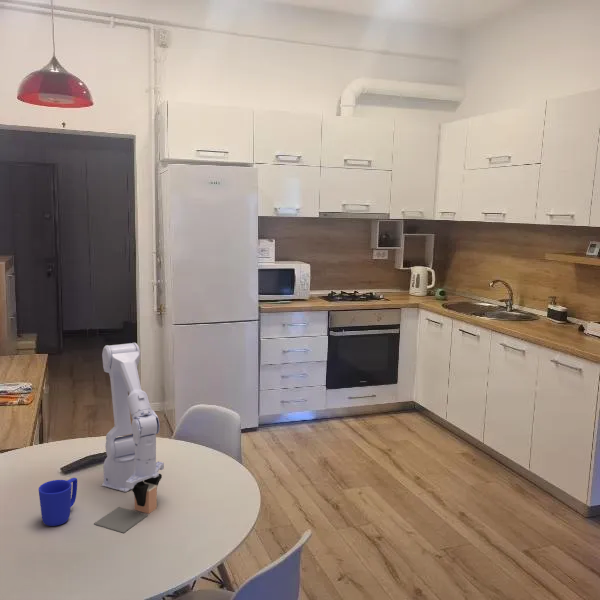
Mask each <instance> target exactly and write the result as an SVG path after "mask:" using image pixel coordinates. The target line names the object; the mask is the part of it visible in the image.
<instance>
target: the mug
mask: <svg viewBox="0 0 600 600" xmlns="http://www.w3.org/2000/svg"><path fill="white" fill-rule="evenodd" d="M77 490H78V478H77V477H71V478H70V479H68V480H67V479H55V480H48V481H46V482H44V483H42V484H41V485H40V486H39V487H38V496H39V505H40V513H41V520H42V523H43V524H44V525H45V526H48V527H56V526H61V525H63V524H65V523H66V522H68V520H69V519H70V516H71V515H70V514H71V507H73V506H74V504H75V502H76V499H77V492H78V491H77Z"/></svg>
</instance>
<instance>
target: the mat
mask: <svg viewBox="0 0 600 600" xmlns="http://www.w3.org/2000/svg"><path fill="white" fill-rule="evenodd" d="M148 515H149V514H147V513H143V512H140V511H136V510H131V509H128V508H124V507H121V506H118V507H116V508H115V509H113V510H112V511H110V512H109V513H107V514H106V515H104V516H103V517H102V518H100V519H98V520H96V521H95V522H94V523H93V525H94V526H98V527H102V528H105V529H108V530H111V531H115V532H118V533H121V534H125V533H127V532H128V531H129V530H131V529H132V528H133V527H134V526H136V525H137V524H139V523H140V522H141V521H143V520H145V518H147V517H148Z"/></svg>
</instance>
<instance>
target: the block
mask: <svg viewBox="0 0 600 600" xmlns="http://www.w3.org/2000/svg"><path fill="white" fill-rule="evenodd" d="M143 482H144V481H143ZM144 483H145V484H148V485H149V487H148V489H147V493H146V502H145V506H139V505H137V501H136V498H135V495H134V494H133V495H134V511H137V512H140V513H144V514H147V515H149V514H150V513H152V512H153V511H155V510H157V507H158V506H157V504H158V503H157V500H158V499H157V498H158V497H157V493H158V491H157V489H158V486H157V485H154V484H150V483H146V482H144Z"/></svg>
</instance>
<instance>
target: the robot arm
mask: <svg viewBox="0 0 600 600" xmlns="http://www.w3.org/2000/svg"><path fill="white" fill-rule="evenodd" d="M140 350H141V349H140V346H139V345H138V344H137V343H136V342H132V343H131V342H129V343H121V344H112V345H108V344H107V345H106V344H105V346H104V347H103V349H102V354H101V357H102V367H103V372H105V373H108V375H109V379H110V391H111V401H112V412H113V413H112V414H113V423H114V426H113V427H112V428H111V429H110V430H109V431H108V432H107V433H106V436H105V454H106V456H107V457H106V458H105V459H104V462H103V483H102V484H101V486H102V487H105V488H109V489H112V490H117V491H120V492H124V493H127V492H129V491H130V490H131V491H132V492H133V495H135V498H136V501H137V505H139V506H145V502H146V493H147V489H148V487H149V485H148V484H145V483H144V482H146V483H150V484H154V485H157V487H158V486H159V483H160V481H161V480H162V476H163V475H162V474H161V473H159V471H163V470H165V469H164V468H165V467H164V466H165V463H164V462H162V461H157V435H158V434H159V433H160V428H161V425H160V420H159V417H158V415H157V413H156V412H155V410H153V409H152V406H151V403H150V400H149V397H148V393H147V392H146V391H145V390H143V389H142V386H141V379H140V376H139V370H138V365H139V363H140V358H141V351H140ZM131 419H132V421H131Z"/></svg>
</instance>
